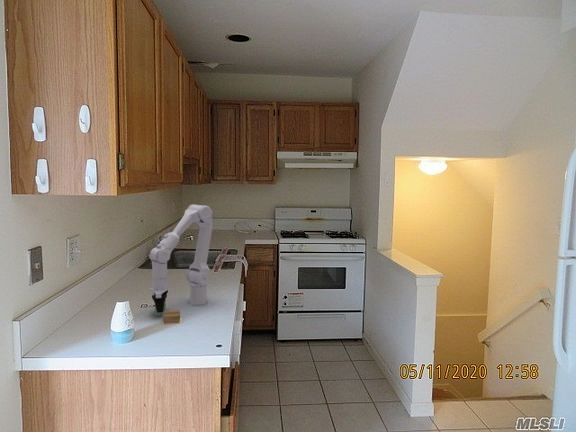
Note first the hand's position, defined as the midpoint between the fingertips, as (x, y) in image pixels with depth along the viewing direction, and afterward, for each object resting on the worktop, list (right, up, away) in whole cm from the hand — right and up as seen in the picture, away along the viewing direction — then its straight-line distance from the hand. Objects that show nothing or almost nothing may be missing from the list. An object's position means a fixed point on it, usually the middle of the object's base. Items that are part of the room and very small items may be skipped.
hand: (160, 310), depth 160 cm
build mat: (+4, -3, -4) cm, 6 cm away
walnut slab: (+7, -2, -7) cm, 10 cm away
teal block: (0, -1, 0) cm, 1 cm away
